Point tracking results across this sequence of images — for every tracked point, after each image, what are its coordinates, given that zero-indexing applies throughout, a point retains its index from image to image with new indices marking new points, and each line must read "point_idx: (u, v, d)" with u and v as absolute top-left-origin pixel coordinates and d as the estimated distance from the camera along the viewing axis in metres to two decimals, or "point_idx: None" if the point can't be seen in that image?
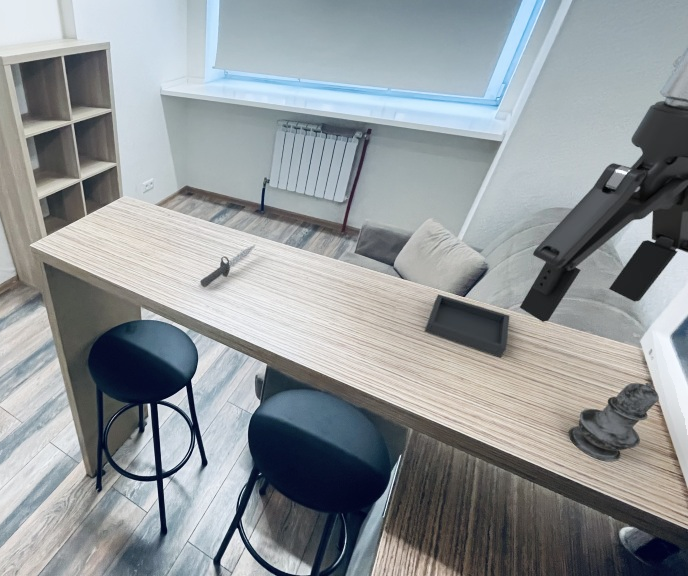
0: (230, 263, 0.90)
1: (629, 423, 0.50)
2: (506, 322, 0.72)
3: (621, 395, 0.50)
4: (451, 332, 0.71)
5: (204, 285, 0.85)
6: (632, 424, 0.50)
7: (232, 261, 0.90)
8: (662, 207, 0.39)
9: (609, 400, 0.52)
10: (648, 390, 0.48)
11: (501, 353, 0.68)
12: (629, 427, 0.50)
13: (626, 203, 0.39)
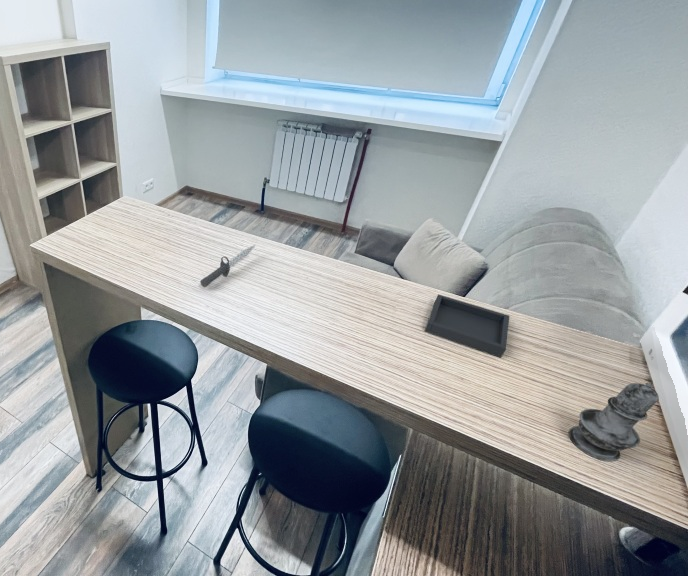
0: (230, 263, 0.90)
1: (629, 423, 0.50)
2: (506, 322, 0.72)
3: (621, 395, 0.50)
4: (451, 332, 0.71)
5: (204, 285, 0.85)
6: (632, 424, 0.50)
7: (232, 261, 0.90)
8: None
9: (609, 400, 0.52)
10: (648, 390, 0.48)
11: (501, 353, 0.68)
12: (629, 427, 0.50)
13: None
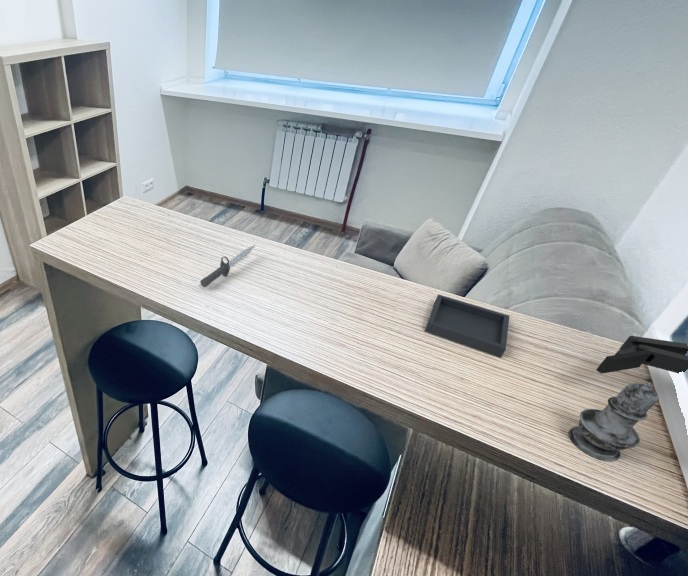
0: (230, 263, 0.90)
1: (629, 423, 0.50)
2: (506, 322, 0.72)
3: (621, 395, 0.50)
4: (451, 332, 0.71)
5: (204, 285, 0.85)
6: (632, 424, 0.50)
7: (232, 261, 0.90)
8: None
9: (609, 400, 0.52)
10: (648, 390, 0.48)
11: (501, 353, 0.68)
12: (629, 427, 0.50)
13: None
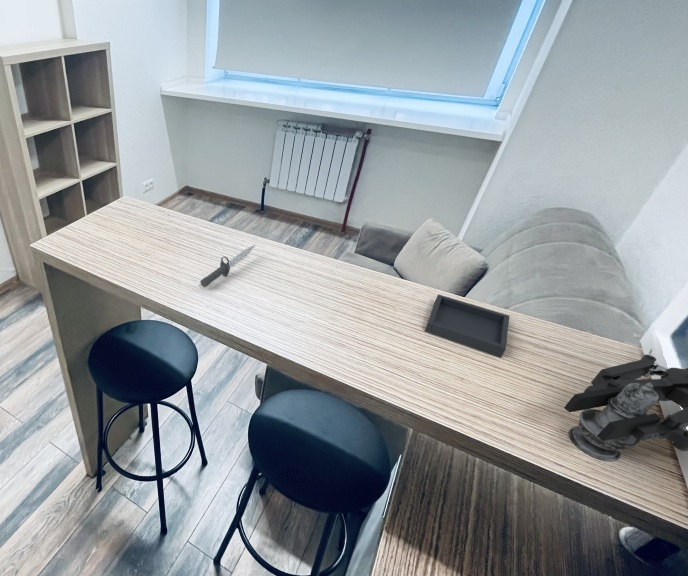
0: (230, 263, 0.90)
1: None
2: (506, 322, 0.72)
3: (621, 395, 0.50)
4: (451, 332, 0.71)
5: (204, 285, 0.85)
6: None
7: (232, 261, 0.90)
8: None
9: (609, 400, 0.52)
10: (648, 390, 0.48)
11: (501, 353, 0.68)
12: None
13: None
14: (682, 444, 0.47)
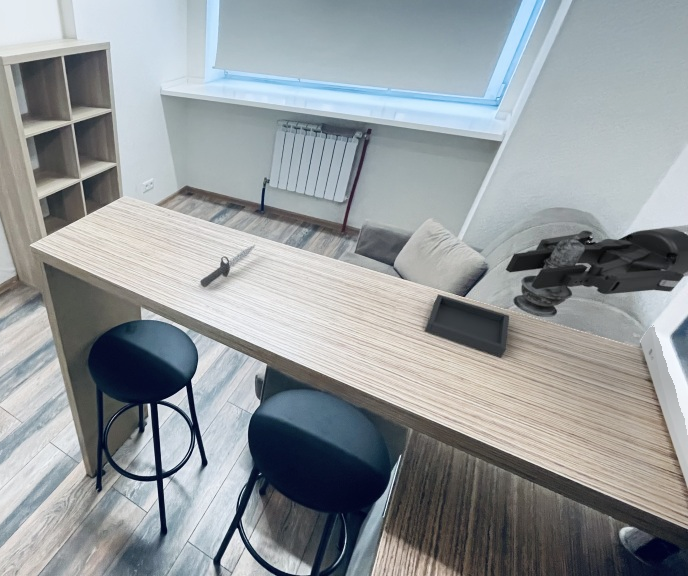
0: (230, 263, 0.90)
1: None
2: (506, 322, 0.72)
3: (554, 251, 0.57)
4: (451, 332, 0.71)
5: (204, 285, 0.85)
6: None
7: (232, 261, 0.90)
8: (617, 254, 0.58)
9: (545, 260, 0.58)
10: (575, 242, 0.55)
11: (501, 353, 0.68)
12: None
13: None
14: (604, 287, 0.54)
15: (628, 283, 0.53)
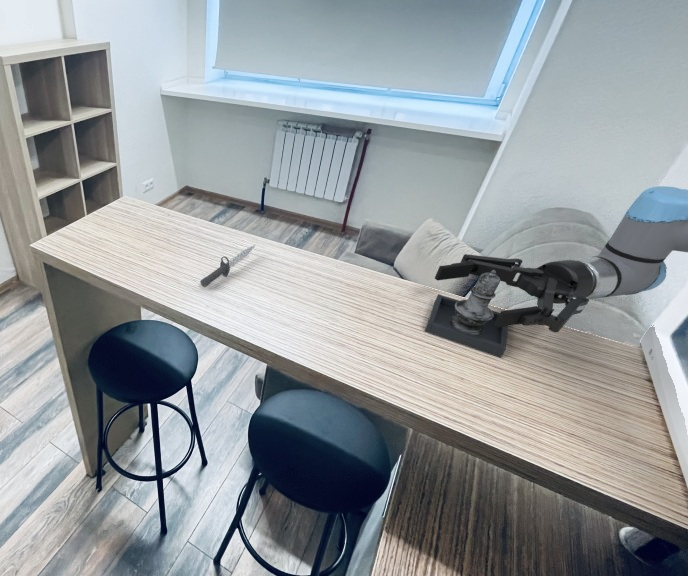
0: (230, 263, 0.90)
1: (483, 302, 0.69)
2: None
3: (477, 282, 0.69)
4: (451, 332, 0.71)
5: (204, 285, 0.85)
6: (485, 303, 0.70)
7: (232, 261, 0.90)
8: (531, 282, 0.70)
9: (471, 288, 0.71)
10: (492, 275, 0.67)
11: (501, 353, 0.68)
12: (484, 306, 0.70)
13: None
14: (556, 327, 0.63)
15: (568, 319, 0.63)
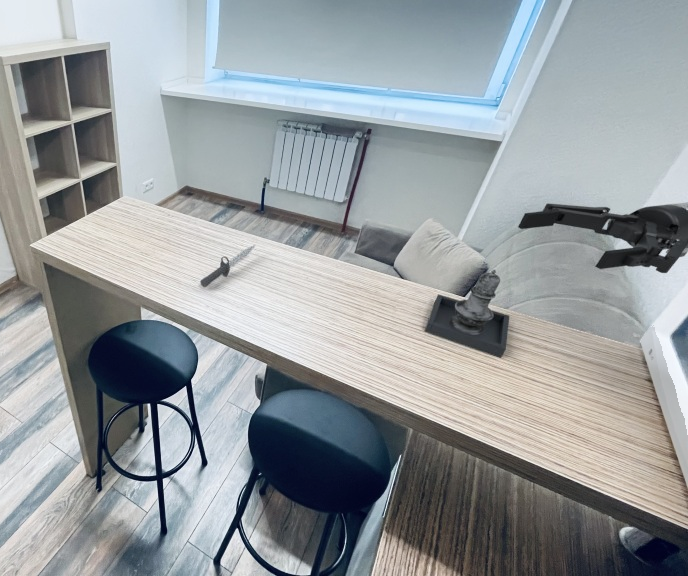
0: (230, 263, 0.90)
1: (483, 302, 0.69)
2: (506, 322, 0.72)
3: (477, 282, 0.69)
4: (451, 332, 0.71)
5: (204, 285, 0.85)
6: (485, 303, 0.70)
7: (232, 261, 0.90)
8: (627, 226, 0.67)
9: (472, 288, 0.71)
10: (492, 275, 0.67)
11: (501, 353, 0.68)
12: (484, 306, 0.70)
13: None
14: (666, 267, 0.59)
15: None
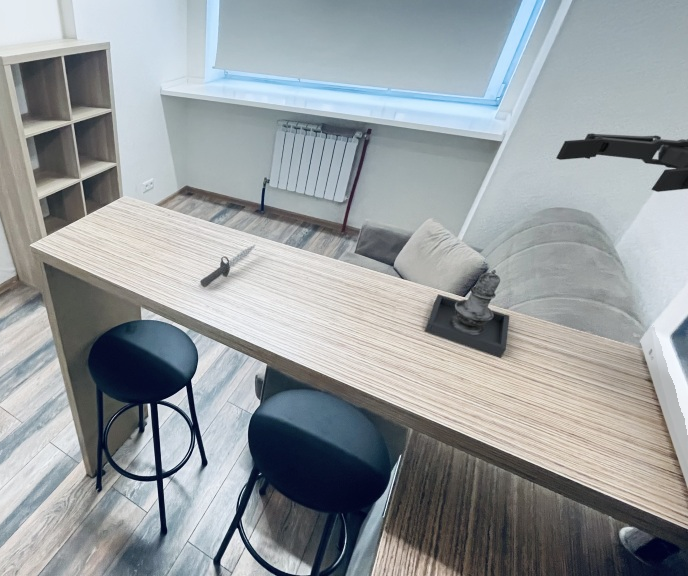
0: (230, 263, 0.90)
1: (483, 302, 0.69)
2: (506, 322, 0.72)
3: (477, 282, 0.69)
4: (451, 332, 0.71)
5: (204, 285, 0.85)
6: (485, 303, 0.70)
7: (232, 261, 0.90)
8: (684, 151, 0.59)
9: (471, 288, 0.71)
10: (492, 275, 0.67)
11: (501, 353, 0.68)
12: (484, 306, 0.70)
13: None
14: None
15: None
